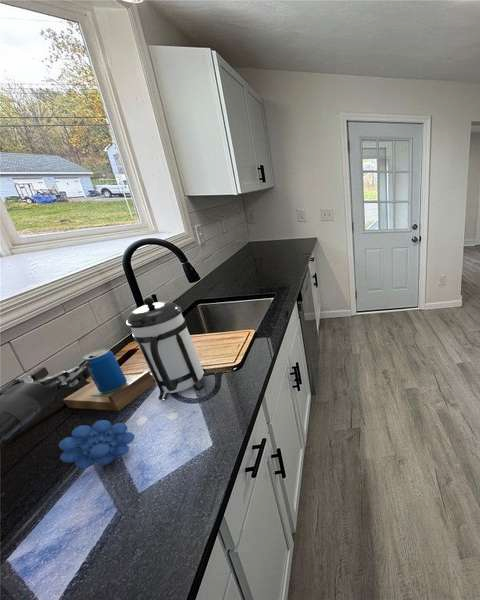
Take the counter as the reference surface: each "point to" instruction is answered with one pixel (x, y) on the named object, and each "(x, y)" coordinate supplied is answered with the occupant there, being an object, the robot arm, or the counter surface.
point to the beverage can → (105, 370)
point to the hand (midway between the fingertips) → (66, 366)
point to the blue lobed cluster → (96, 444)
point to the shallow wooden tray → (110, 394)
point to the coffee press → (166, 346)
